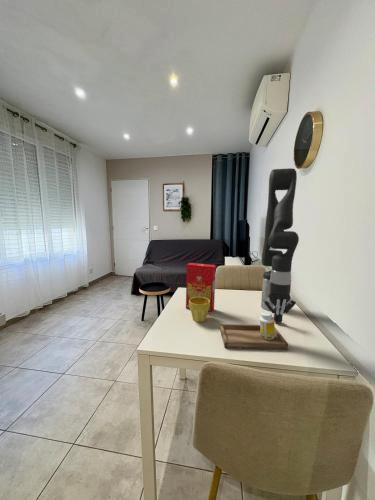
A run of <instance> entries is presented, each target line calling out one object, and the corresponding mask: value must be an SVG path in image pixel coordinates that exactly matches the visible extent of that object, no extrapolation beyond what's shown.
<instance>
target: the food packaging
mask: <svg viewBox="0 0 375 500" xmlns="http://www.w3.org/2000/svg"><path fill="white" fill-rule="evenodd" d="M216 269H217V265H216V264H206V263H195V262H194V263H193V262H189V263H186V278H185V281H186V284H185V285H186V287H185V289H186V290H185V309H186V310H191V309H190V308H189V300H190V299H191V298H193V297H205V298H207V299H209V300H210V308H209V309H208V313H209V314H212V313H213V312H214V310H215V294H216V291H215V290H216V274H217V273H216ZM208 313H207V314H208Z"/></svg>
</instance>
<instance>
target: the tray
mask: <svg viewBox="0 0 375 500" xmlns="http://www.w3.org/2000/svg"><path fill="white" fill-rule="evenodd" d="M219 331H220V335H221V339H222V343H223V346H224V349H238V350H239V349H240V350H277V351H279V350H280V351H281V350H282V351H288V350H289V343H288V342H287V340H286V339H285V337H284V336H283V335H282V334H281V333H280V332H279V330H278V329H277V328H276V327H275V338H274V339H271V340H267V339H264V338H262V337H261V332H260V324H243V323H242V324H239V323H238V324H236V323H234V324H233V323H219Z"/></svg>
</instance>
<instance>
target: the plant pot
mask: <svg viewBox="0 0 375 500" xmlns="http://www.w3.org/2000/svg"><path fill="white" fill-rule="evenodd" d="M189 308H190V309H189V310H190V312H191V317H192V320H193V321H194V322H195V323H203V322H206V320H207V317H208V309H209V308H210V300H209V299H207V298H205V297H193V298H191V299H190V300H189Z"/></svg>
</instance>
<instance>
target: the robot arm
mask: <svg viewBox="0 0 375 500" xmlns="http://www.w3.org/2000/svg"><path fill="white" fill-rule="evenodd" d="M297 175H298V173H297V171H296V169H295V168H289V167H288V168H274V169H271V171H270V174H269V177H268V193H267V194H268V197H267V199H268V200H267V210H266V217H265V227H264V240H263V247H262V253H261V264H262V266H264V267H270V268H271V270H268V271H264V273H263V275H262V288H261V302H260V308H261V309H263V310H264V311H268V312H270V313H271V314H273V317H274V320H275V322H276V323H275V322H274V323H275V324H277V323H279V324H281V323H282V322H283V316H284V314H288V313H289V311H291V310H292V309H293V307H294V306H295V305H296V304H297V302H296V301H295V300H293V299H292V298H291V288H292V287H291V286H292V261H293V258H294V255H295V251H296V250H297V247H298V244H299V241H300V238H299V234H298V233H297V232H296V231H293V230H291V231H290V230H289V229H291V228H292V227H293V224H294V201H295V195H296V187H297V180H298V179H297ZM276 191H286V193H285V195H284V196H283V197H282V199H281V200H280V201H279V200H278V198H277V194H276ZM282 250H286V251H285V252H283V251H282ZM273 308H274V309H273Z"/></svg>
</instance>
